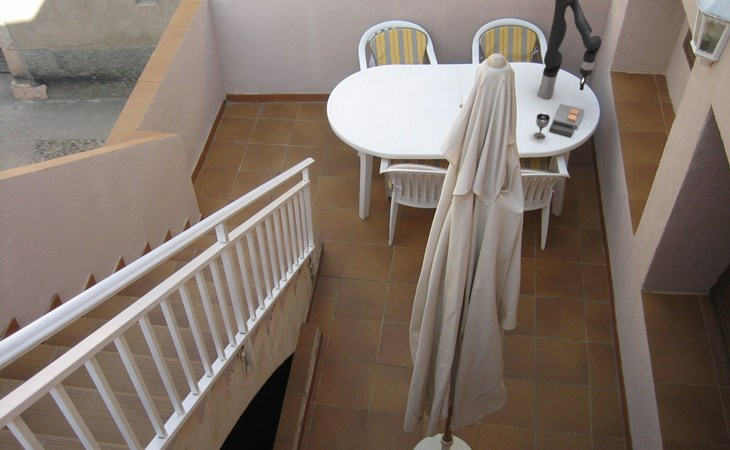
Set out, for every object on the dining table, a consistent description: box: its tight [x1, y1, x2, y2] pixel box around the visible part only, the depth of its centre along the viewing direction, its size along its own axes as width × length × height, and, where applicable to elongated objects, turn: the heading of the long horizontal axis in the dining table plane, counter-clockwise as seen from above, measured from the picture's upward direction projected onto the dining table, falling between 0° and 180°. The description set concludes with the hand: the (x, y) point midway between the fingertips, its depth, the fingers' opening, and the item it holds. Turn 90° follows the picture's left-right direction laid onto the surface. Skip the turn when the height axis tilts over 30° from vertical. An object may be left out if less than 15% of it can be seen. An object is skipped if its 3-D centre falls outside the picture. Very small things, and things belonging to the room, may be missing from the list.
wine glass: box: [533, 112, 551, 141], centre depth 432 cm, size 8×8×15 cm
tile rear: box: [570, 108, 579, 116], centre depth 447 cm, size 5×5×2 cm
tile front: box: [567, 114, 577, 123], centre depth 443 cm, size 5×5×2 cm
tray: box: [548, 119, 575, 138], centre depth 440 cm, size 14×9×4 cm, turn 65°
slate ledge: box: [552, 103, 585, 130], centre depth 449 cm, size 16×19×3 cm
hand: (581, 89), depth 442 cm, fingers closed
